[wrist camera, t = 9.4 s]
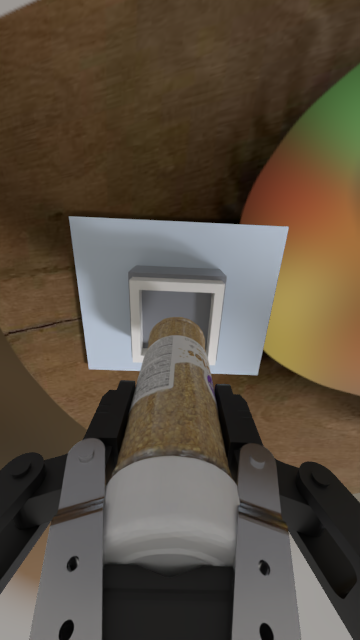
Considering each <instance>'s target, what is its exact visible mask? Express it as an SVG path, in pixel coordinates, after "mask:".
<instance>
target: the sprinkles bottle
mask: <svg viewBox="0 0 360 640" xmlns="http://www.w3.org/2000/svg"><path fill="white" fill-rule="evenodd" d="M148 344H149V345H148V349H147V351H146V353H145V356H144V359H143V363H142V366H141V370H140V374H139V377H138V381H137V385H136V388H135V392H134V395H133V399H132V402H131V406H130V410H129V413H128V419H127V426H126V430H125V433H124V438H123V441H122V445H121V449H120V453H119V456H118V461H117V465H116V467H115V469H114V470H113V472H112V476H111V479H110V481H109V482H108V484H107V485H106V488H105V504H104V531H103V539H104V555H105V560H104V564H133V565H138V566H141V567H143V568H145V569H148V570H150V571H153V572H155V573H157V574H160V575H162V576H165V577H173V576H176V575H179V574H181V573H184V572H187V571H190V570H192V569H195V568H198V567H201V566H227V567H233V559H234V554H235V548H236V539H237V507H238V505H240V501H239V496H238V490H237V485H236V483H235V481H234V480H233V478H232V476H231V473H230V470H229V467H228V460H227V457H226V453H225V446H224V441H223V437H222V431H221V425H220V421H219V416H218V406H217V401H216V397H215V392H214V387H213V382H212V377H211V372H210V367H209V361H208V357H207V354H206V350H205V338H204V335H203V332H202V330H201V329H200V327H199V326H198V325H197V324H195V323H194V322H193V321H191V320H189V319H186V318H183V317H170V318H166V319H163V320H162V321H160V322H159V323H157V324H156V325H155V326H154V327H153V329H152V331H151V332H150V335H149V340H148Z"/></svg>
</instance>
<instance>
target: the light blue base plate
mask: <svg viewBox="0 0 360 640" xmlns="http://www.w3.org/2000/svg"><path fill="white" fill-rule="evenodd" d="M69 222H70V229H71V237H72V245H73V252H74V260H75V267H76V275H77V283H78V290H79V298H80V305H81V313H82V320H83V328H84V336H85V343H86V351H87V358H88V366H89V369H101V370H128V371H140V370H141V366H142V363H143V359H144V356H145V353H146V351H147V349H148V345H149V344H148V340H149V335H150V332H151V331H152V329H153V327H154V326H155V325H156V324H157V323H159V322H160V321H162V320H163V319H166V318H170V317H183V318H186V319H189V320H191V321H193V322H194V323H195V324H197V325H198V326H199V327H200V329H201V330H202V332H203V335H204V338H205V350H206V354H207V357H208V361H209V367H210V372H211V373H212V374H240V375H258V371H259V366H260V361H261V356H262V352H263V347H264V342H265V337H266V332H267V328H268V323H269V318H270V314H271V309H272V304H273V299H274V295H275V290H276V285H277V281H278V276H279V271H280V266H281V261H282V257H283V252H284V247H285V243H286V238H287V233H288V228H289V227H283V226H263V225H242V224H221V223H200V222H179V221H158V220H137V219H116V218H95V217H74V216H69Z"/></svg>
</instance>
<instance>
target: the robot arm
mask: <svg viewBox="0 0 360 640" xmlns="http://www.w3.org/2000/svg"><path fill="white" fill-rule="evenodd" d="M134 392H135V381H125V380H121V381H120V383H119V385H118V388H117V390H109V391H108V392H107V393H106V394H105V395H104V396H103V397H102V399H101V401H100V403H99V406H98V408H97V410H96V413H95V414H94V417H93V419H92V421H91V423H90V425H89V428H88V430H87V432H86V434H85V437H84V438H83V440H82V441H80V442H78V443H77V444H76V445H74V446H73V447H72V449H71V450H70V451H69V453H68V454H65V455H62V456H59V457H55V458H51V459H47V460H43V457H42V456H41V455H40V454H38V453H33V452H32V453H25V454H23V455H20V456H18V457H16V458H15V459H13V460H12V461H10V462H9V463H8V464H7V465H6V466H5V467H4V468H2V470H0V594H1V593H2V591H3V590H4V588H5V587H6V585H7V584H8V582H9V581H10V580H11V578H12V577H13V575H14V574H15V572H16V571H17V569H18V568H19V567H20V565H21V564H22V562H23V561H24V559H25V558H26V556H27V555H28V553H29V552H30V551H31V549H32V548H33V547H34V545H35V544H36V542H37V541H38V539H39V538H40V536H41V535H42V533H43V532H44V531H45V529H46V528H47V526H48V525H49V523H50V522H51V525H50V530H49V535H48V540H47V546H46V551H45V556H44V562H43V568H42V573H41V578H40V585H39V589H38V594H37V600H36V605H35V611H34V616H33V622H32V627H31V632H30V638H29V640H301V632H300V625H299V615H298V607H297V599H296V590H295V582H294V573H293V565H292V557H291V549H290V539H289V532H290V534H291V536H292V537H293V539H294V541H295V543H296V544H297V546H298V548H299V549H300V551H301V553H302V554H303V556H304V558H305V559H306V561H307V563H308V564H309V566H310V568H311V569H312V571H313V573H314V574H315V576H316V578H317V579H318V581H319V583H320V584H321V586H322V587H323V589H324V591H325V593H326V594H327V596H328V598H329V600H330V601H331V603H332V604H333V606H334V608H335V610H336V611H337V613H338V615H339V616H340V618H341V620H342V621H343V623H344V625H345V626H346V628H347V630H348V632H349V633H350V635H351V636H352V638H353V640H360V503H359V501H357V499H356V498H355V497H354V496H353V495H352V494H351V493H350V492H349V490H348V489H347V488H346V487H345V486H344V485H343V484H342V483H341V482H340V481H339V480H338V478H337V477H336V476H335V475H334V474H333V473H332V472H331V471H330V470H328V469H327V468H326V467H324V466H322V465H321V464H318V463H315V462H304V463H303V464H301V466H300V468H297V467H294V466H291V465H288V464H285V463H283V462H280V461H278V460H276V459H275V458H274V456H273V455H272V453H271V452H270V451H269V450H268V449H266V448H265V447H264V446H263V444H262V441H261V439H260V436H259V433H258V431H257V428H256V426H255V423H254V420H253V419H252V415H251V412H250V410H249V407H248V405H247V402H246V401H245V400H244V399H243V398H242V396H241V395H236V394H233V392H232V389H231V386H230V385H229V384H216V385H215V391H214V392H215V397H216V401H217V406H218V416H219V421H220V425H221V431H222V437H223V441H224V446H225V453H226V457H227V460H228V467H229V470H230V473H231V476H232V478H233V480H234V481H235V483H236V485H237V490H238V496H239V501H240V505H238V507H237V539H236V548H235V554H234V559H233V567H227V566H201V567H198V568H195V569H192V570H190V571H187V572H184V573H181V574H179V575H176V576H173V577H165V576H162V575H160V574H157V573H155V572H153V571H150V570H148V569H145V568H143V567H141V566H138V565H133V564H104V560H105V555H104V539H103V531H104V504H105V488H106V485H107V484H108V482H109V481H110V479H111V476H112V472H113V470H114V469H115V467H116V465H117V461H118V456H119V453H120V449H121V445H122V441H123V438H124V433H125V430H126V426H127V419H128V413H129V410H130V406H131V402H132V399H133V395H134ZM288 531H289V532H288Z"/></svg>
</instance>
